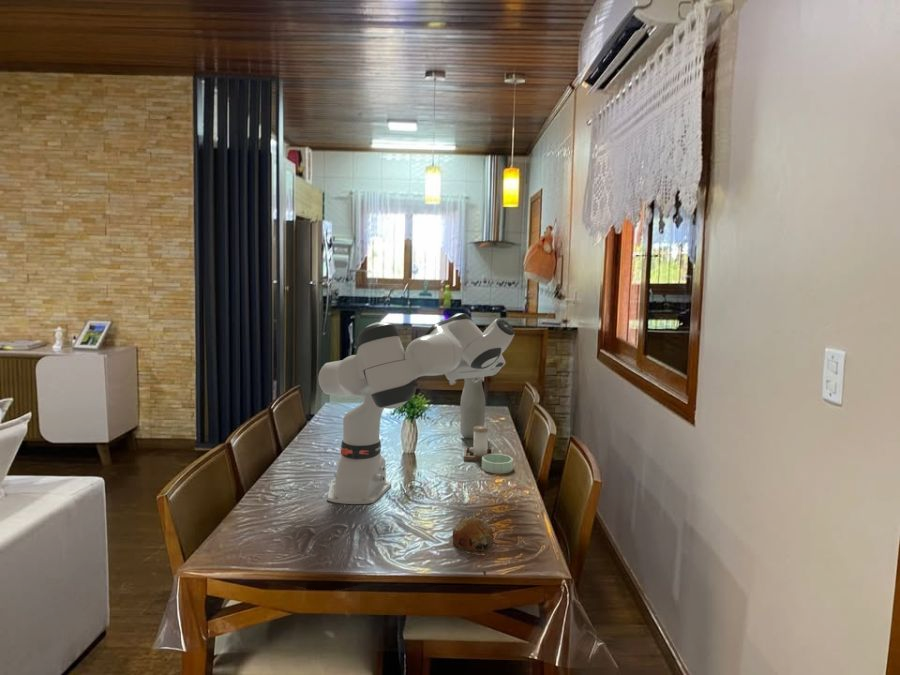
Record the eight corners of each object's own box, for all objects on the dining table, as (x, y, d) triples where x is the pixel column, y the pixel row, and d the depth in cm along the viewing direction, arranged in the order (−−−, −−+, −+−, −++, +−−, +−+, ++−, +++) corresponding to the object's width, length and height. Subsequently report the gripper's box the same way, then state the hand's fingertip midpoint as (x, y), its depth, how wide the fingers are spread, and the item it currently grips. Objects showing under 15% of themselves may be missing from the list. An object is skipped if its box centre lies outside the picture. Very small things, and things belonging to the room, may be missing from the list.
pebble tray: (492, 465, 211) (492, 458, 211) (463, 463, 212) (464, 456, 212) (492, 455, 222) (493, 448, 222) (465, 454, 223) (465, 447, 223)
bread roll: (491, 551, 155) (490, 518, 158) (495, 552, 145) (495, 516, 148) (451, 551, 155) (452, 518, 157) (453, 551, 145) (453, 516, 147)
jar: (487, 460, 213) (488, 429, 212) (472, 459, 213) (473, 429, 212) (487, 456, 218) (488, 426, 217) (473, 455, 218) (473, 425, 217)
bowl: (512, 476, 200) (513, 464, 199) (481, 475, 201) (481, 462, 200) (512, 466, 210) (512, 454, 210) (481, 465, 211) (482, 453, 210)
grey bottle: (483, 435, 248) (485, 367, 245) (484, 443, 238) (486, 372, 234) (459, 435, 248) (461, 367, 245) (459, 442, 238) (461, 371, 235)
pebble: (475, 455, 219) (475, 448, 219) (468, 454, 219) (468, 448, 219) (475, 453, 221) (475, 446, 221) (468, 452, 221) (469, 446, 221)
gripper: (460, 367, 189) (441, 392, 198) (509, 362, 201) (489, 387, 210) (451, 351, 192) (433, 377, 201) (501, 347, 204) (482, 372, 213)
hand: (462, 382), depth 205 cm, fingers open, 8 cm apart
